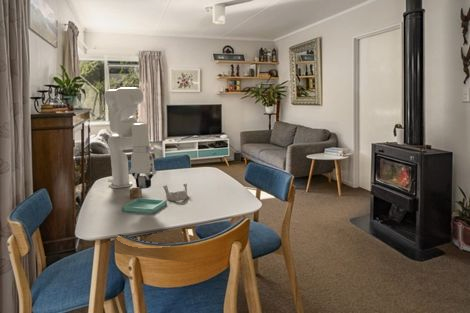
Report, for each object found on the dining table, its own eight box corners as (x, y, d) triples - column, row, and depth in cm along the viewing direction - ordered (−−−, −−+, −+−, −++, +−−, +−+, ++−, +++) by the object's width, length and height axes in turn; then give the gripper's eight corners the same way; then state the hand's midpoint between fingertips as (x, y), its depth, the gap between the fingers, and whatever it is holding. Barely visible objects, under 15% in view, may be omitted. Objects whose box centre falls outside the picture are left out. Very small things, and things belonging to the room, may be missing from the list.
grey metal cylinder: (136, 188, 155) (135, 177, 154) (142, 185, 160) (141, 175, 159) (145, 188, 154) (144, 177, 153) (150, 186, 158) (149, 175, 157)
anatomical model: (167, 202, 164) (165, 182, 166) (165, 204, 174) (162, 186, 176) (192, 198, 169) (190, 179, 171) (188, 201, 178) (186, 183, 181)
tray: (122, 211, 154) (121, 206, 154) (138, 202, 168) (138, 197, 167) (152, 214, 150) (152, 209, 150) (166, 204, 163) (166, 200, 163)
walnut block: (129, 199, 173) (129, 190, 173) (133, 196, 178) (132, 187, 178) (139, 199, 173) (138, 190, 172) (142, 196, 178) (141, 187, 177)
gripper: (161, 148, 155) (163, 185, 158) (130, 148, 160) (132, 184, 163) (152, 151, 148) (155, 190, 151) (120, 150, 152) (123, 188, 156)
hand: (143, 186), depth 157 cm, fingers closed on grey metal cylinder, 4 cm apart
